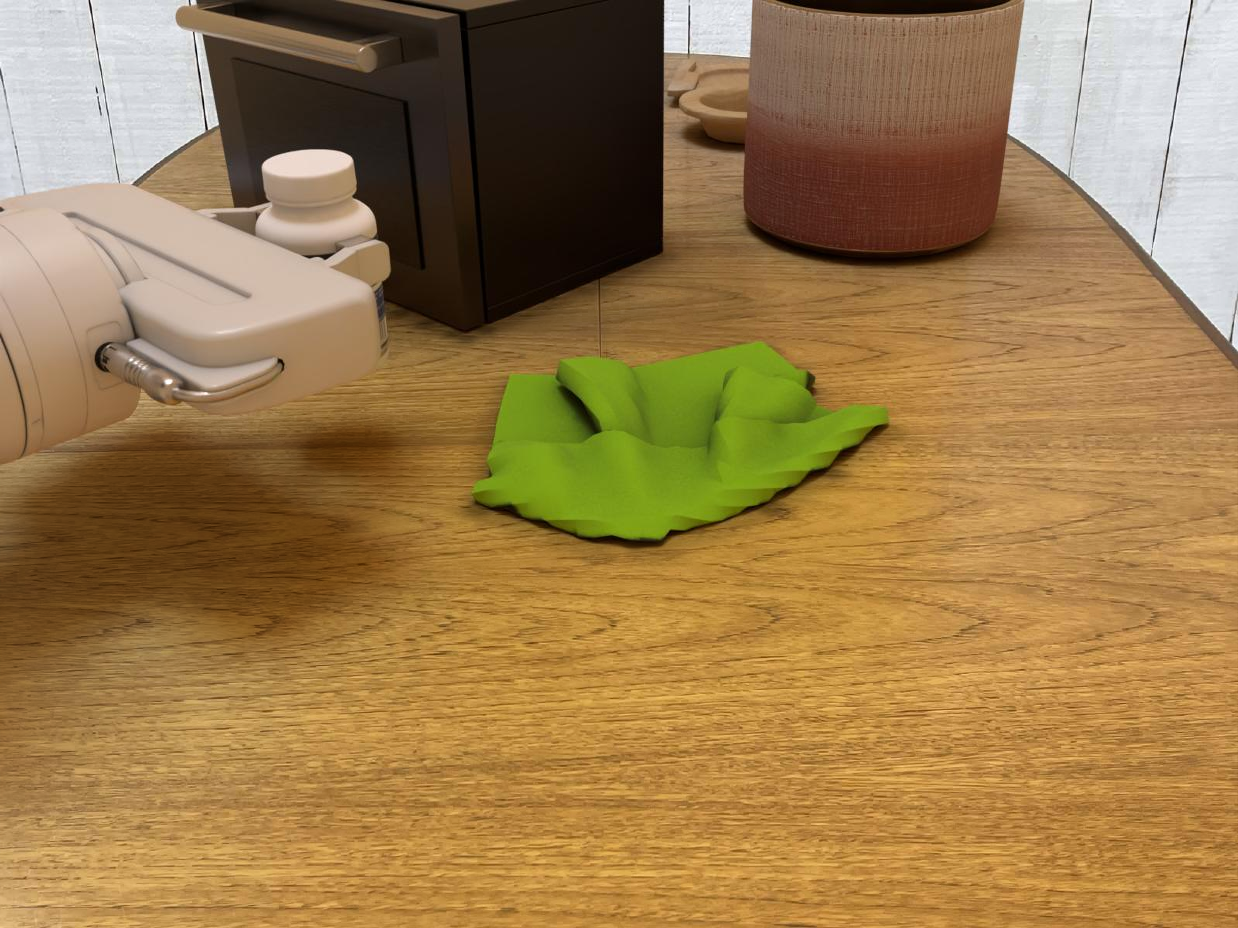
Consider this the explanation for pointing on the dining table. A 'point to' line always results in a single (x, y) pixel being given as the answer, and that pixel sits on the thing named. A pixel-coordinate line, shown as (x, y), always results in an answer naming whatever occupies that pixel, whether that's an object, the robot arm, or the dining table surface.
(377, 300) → the pill bottle
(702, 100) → the tableware set
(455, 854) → the dining table surface
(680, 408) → the cloth
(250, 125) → the oven door
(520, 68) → the oven
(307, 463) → the dining table surface
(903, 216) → the planter
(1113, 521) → the dining table surface
